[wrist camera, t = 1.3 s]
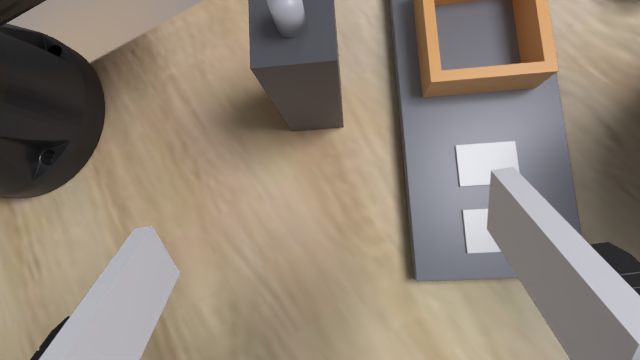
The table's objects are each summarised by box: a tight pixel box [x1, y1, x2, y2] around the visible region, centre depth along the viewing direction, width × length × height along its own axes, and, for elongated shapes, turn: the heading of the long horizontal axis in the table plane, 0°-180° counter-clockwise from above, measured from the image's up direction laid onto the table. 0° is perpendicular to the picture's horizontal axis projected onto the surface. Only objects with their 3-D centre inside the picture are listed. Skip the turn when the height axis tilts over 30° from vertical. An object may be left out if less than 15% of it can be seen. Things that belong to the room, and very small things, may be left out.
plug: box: [248, 0, 344, 131], centre depth 22 cm, size 4×4×14 cm
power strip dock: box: [389, 0, 582, 281], centre depth 26 cm, size 12×26×4 cm, turn 3°
